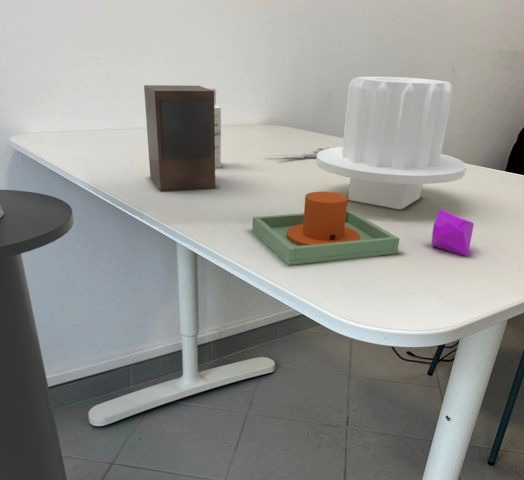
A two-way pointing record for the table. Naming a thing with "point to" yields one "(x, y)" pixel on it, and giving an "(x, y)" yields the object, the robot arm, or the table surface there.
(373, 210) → the table surface
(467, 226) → the crystal
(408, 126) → the flanged gear
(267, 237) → the tray
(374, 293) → the table surface
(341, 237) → the hat
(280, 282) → the table surface
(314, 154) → the scissors
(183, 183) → the cabinet
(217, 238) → the table surface
